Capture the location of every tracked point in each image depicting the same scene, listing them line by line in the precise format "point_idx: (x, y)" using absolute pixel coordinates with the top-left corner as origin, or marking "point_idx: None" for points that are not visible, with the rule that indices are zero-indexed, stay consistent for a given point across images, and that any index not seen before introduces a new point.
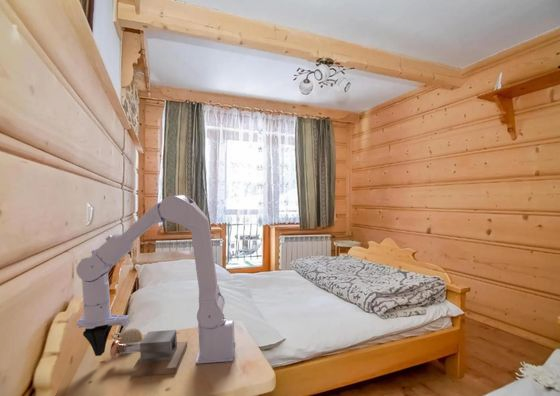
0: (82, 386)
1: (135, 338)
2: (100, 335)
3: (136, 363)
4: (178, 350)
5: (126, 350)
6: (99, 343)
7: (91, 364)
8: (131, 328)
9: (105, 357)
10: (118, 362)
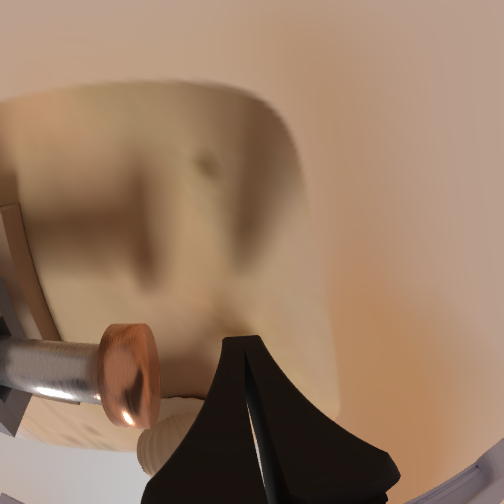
0: (232, 125)
1: (145, 438)
2: (185, 476)
3: (14, 274)
4: None
5: (56, 349)
6: (220, 404)
7: (288, 316)
8: None
9: None
10: (151, 324)
